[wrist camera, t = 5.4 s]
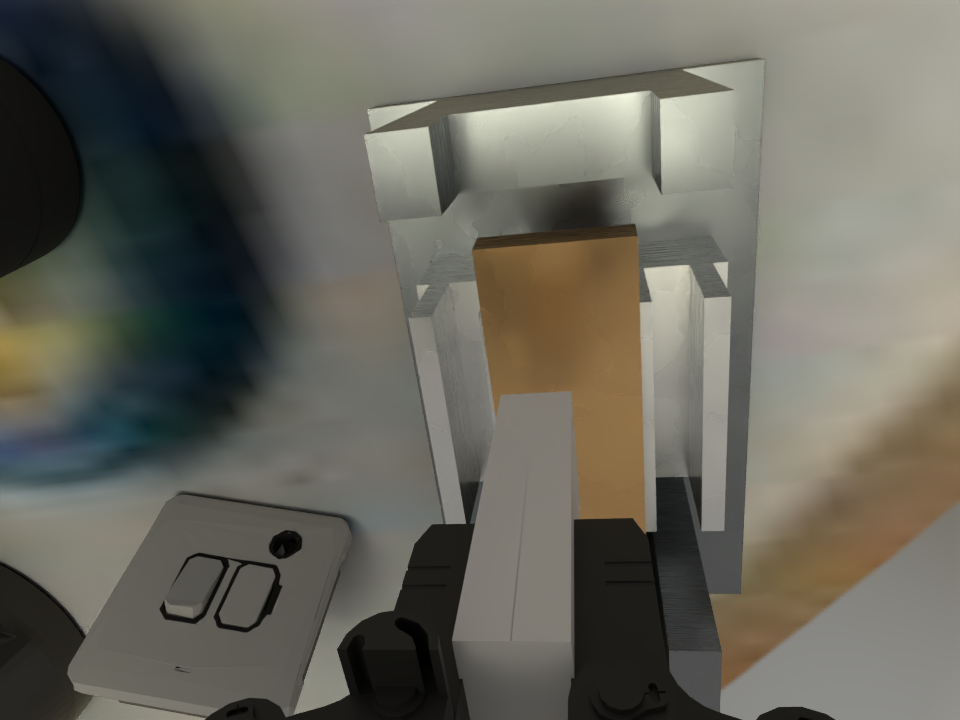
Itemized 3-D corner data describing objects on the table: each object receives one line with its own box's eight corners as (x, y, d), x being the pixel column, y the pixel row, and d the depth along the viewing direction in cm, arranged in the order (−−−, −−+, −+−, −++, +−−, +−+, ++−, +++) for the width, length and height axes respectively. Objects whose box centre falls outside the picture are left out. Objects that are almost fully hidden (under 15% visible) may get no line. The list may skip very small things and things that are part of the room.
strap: (646, 642, 24) (650, 676, 23) (533, 639, 25) (531, 673, 23) (634, 221, 17) (638, 238, 16) (478, 235, 18) (470, 252, 17)
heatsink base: (736, 577, 31) (796, 796, 22) (459, 577, 33) (414, 774, 25) (757, 58, 22) (875, 75, 13) (375, 106, 24) (254, 149, 15)
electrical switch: (357, 515, 33) (280, 694, 25) (360, 586, 36) (293, 768, 28) (174, 487, 34) (44, 651, 26) (191, 559, 36) (79, 727, 29)
